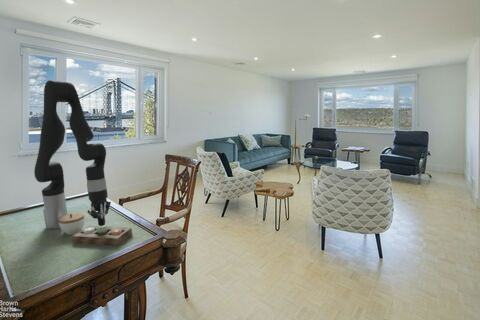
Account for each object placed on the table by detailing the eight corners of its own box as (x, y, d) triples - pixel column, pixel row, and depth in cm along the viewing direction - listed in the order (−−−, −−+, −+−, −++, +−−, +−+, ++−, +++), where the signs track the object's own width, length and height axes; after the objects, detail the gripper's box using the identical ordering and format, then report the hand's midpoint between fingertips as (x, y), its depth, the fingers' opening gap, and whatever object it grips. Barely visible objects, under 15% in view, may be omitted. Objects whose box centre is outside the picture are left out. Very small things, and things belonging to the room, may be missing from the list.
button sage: (95, 233, 122) (94, 228, 122) (101, 229, 126) (100, 224, 126) (103, 234, 121) (103, 229, 121) (110, 229, 126) (109, 225, 125)
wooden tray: (73, 243, 121) (72, 235, 120) (90, 232, 132) (89, 225, 131) (118, 245, 117) (117, 238, 117) (132, 234, 128) (131, 227, 127)
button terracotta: (109, 237, 121) (108, 232, 121) (115, 233, 125) (115, 228, 125) (118, 238, 120) (117, 233, 120) (124, 234, 125) (123, 229, 124)
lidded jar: (59, 238, 126) (56, 219, 124) (61, 230, 135) (58, 212, 133) (85, 233, 130) (83, 215, 129) (86, 225, 140) (83, 208, 138)
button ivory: (81, 236, 124) (81, 231, 123) (88, 232, 128) (87, 227, 127) (90, 236, 123) (89, 231, 122) (97, 232, 127) (96, 227, 127)
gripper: (99, 184, 127) (104, 219, 130) (78, 192, 114) (84, 231, 117) (114, 184, 126) (118, 220, 129) (94, 193, 113) (99, 232, 116)
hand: (102, 225), depth 123 cm, fingers closed
